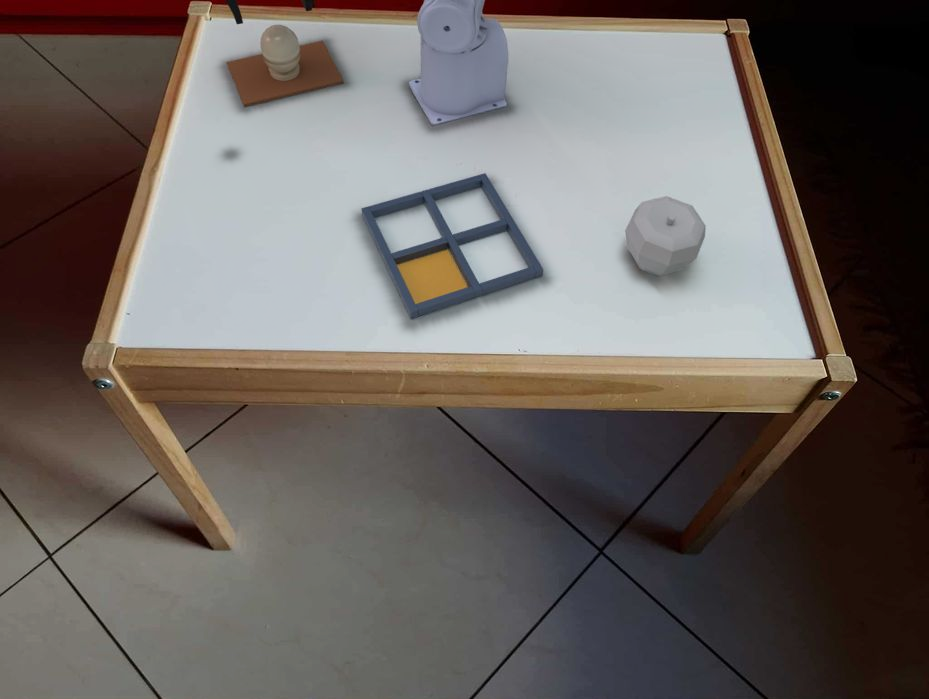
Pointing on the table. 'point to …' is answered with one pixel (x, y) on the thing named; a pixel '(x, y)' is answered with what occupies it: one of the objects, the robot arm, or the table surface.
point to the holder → (446, 252)
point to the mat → (263, 87)
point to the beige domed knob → (281, 52)
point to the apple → (664, 235)
